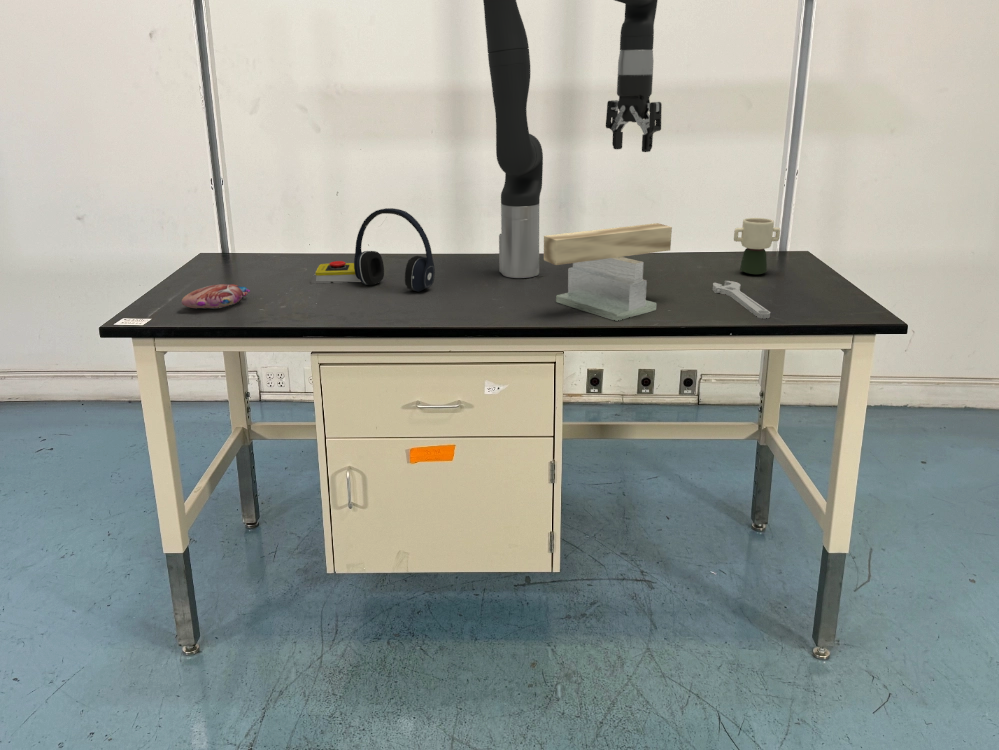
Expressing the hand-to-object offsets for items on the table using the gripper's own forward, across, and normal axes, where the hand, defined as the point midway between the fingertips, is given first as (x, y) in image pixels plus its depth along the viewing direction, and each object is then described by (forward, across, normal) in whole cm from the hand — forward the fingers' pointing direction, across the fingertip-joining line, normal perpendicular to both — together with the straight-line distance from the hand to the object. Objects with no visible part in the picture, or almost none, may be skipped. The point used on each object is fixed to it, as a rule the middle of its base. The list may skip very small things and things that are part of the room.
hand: (631, 150), depth 179 cm
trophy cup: (+30, -15, -29) cm, 45 cm away
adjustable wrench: (+31, -27, -7) cm, 41 cm away
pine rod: (+19, -11, +18) cm, 28 cm away
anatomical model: (+30, +45, +80) cm, 97 cm away
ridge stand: (+30, -11, +18) cm, 37 cm away
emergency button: (+31, +48, +49) cm, 75 cm away
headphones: (+30, +32, +44) cm, 62 cm away
